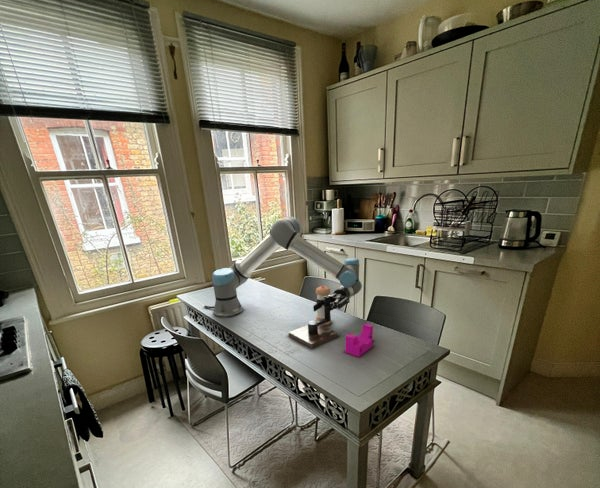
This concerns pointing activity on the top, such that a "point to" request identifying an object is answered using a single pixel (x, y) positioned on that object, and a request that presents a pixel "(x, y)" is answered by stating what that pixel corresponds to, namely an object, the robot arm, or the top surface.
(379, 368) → the top surface
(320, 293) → the pepper shaker
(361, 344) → the toy block
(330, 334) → the pivot base
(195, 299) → the top surface
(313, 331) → the black stand
